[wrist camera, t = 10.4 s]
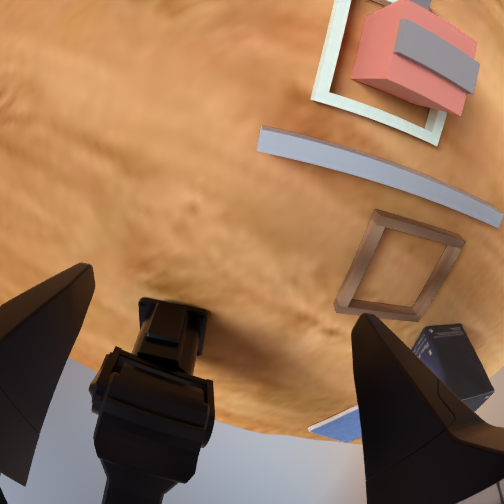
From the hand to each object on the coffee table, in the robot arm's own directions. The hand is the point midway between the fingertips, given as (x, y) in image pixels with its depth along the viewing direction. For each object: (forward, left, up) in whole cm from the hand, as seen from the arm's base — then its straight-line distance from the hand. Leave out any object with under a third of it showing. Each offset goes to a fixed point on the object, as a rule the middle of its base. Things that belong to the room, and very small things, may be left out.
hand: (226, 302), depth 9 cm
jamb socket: (-5, -15, -13) cm, 20 cm away
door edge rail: (+3, -11, -13) cm, 18 cm away
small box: (-16, -26, -13) cm, 33 cm away
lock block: (+11, -8, -13) cm, 19 cm away
